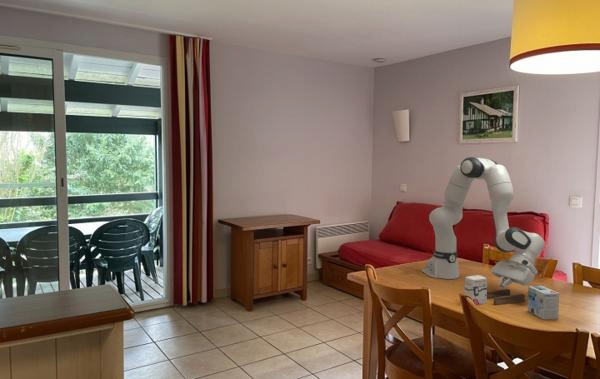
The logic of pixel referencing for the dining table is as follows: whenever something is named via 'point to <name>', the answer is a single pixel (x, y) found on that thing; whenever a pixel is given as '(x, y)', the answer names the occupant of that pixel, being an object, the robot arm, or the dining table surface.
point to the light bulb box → (543, 302)
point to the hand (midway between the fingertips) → (501, 286)
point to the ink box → (476, 288)
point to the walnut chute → (504, 297)
